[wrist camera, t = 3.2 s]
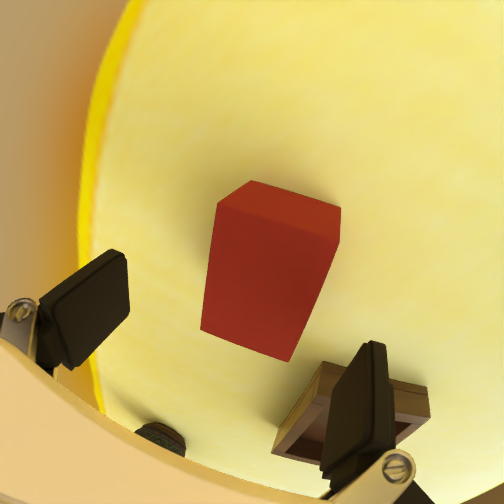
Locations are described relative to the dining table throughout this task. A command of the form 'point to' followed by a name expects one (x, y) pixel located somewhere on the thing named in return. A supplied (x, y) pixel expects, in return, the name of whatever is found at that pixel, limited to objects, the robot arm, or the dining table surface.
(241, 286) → the red block
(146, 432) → the mate gourd
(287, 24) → the dining table surface
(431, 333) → the dining table surface
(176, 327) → the dining table surface
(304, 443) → the brown shallow rectangular box
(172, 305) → the dining table surface
